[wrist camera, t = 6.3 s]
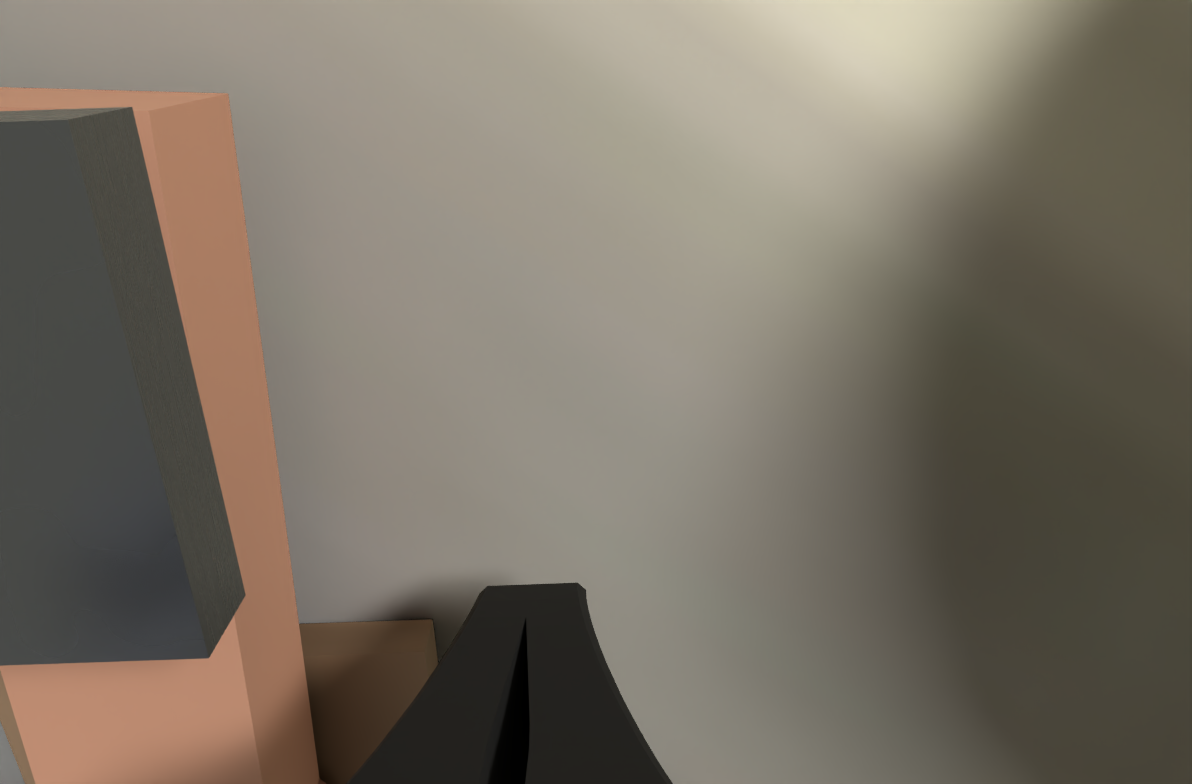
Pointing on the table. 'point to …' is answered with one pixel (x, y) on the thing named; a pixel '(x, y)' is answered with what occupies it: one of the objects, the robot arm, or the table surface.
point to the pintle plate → (336, 689)
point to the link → (251, 496)
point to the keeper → (99, 411)
